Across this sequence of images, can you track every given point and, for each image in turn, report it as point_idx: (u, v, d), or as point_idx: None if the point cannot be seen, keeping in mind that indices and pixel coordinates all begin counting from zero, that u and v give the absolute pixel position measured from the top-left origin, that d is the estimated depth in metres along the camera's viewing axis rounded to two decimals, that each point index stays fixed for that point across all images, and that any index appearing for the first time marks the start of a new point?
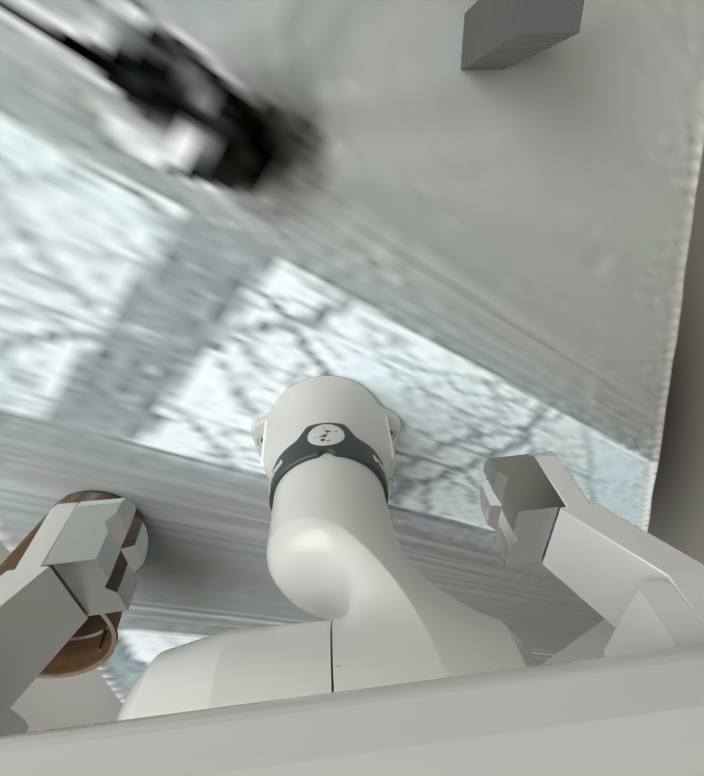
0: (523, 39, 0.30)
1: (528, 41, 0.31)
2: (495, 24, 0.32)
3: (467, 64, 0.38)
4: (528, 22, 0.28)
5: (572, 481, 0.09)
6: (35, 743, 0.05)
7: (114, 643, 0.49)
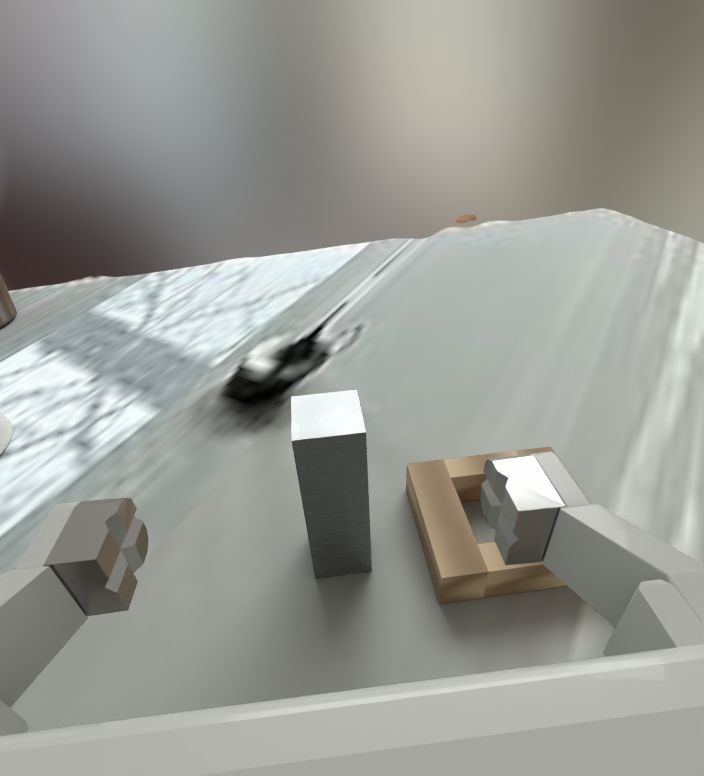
0: None
1: None
2: None
3: None
4: (301, 401, 0.26)
5: (572, 481, 0.09)
6: (35, 743, 0.05)
7: None
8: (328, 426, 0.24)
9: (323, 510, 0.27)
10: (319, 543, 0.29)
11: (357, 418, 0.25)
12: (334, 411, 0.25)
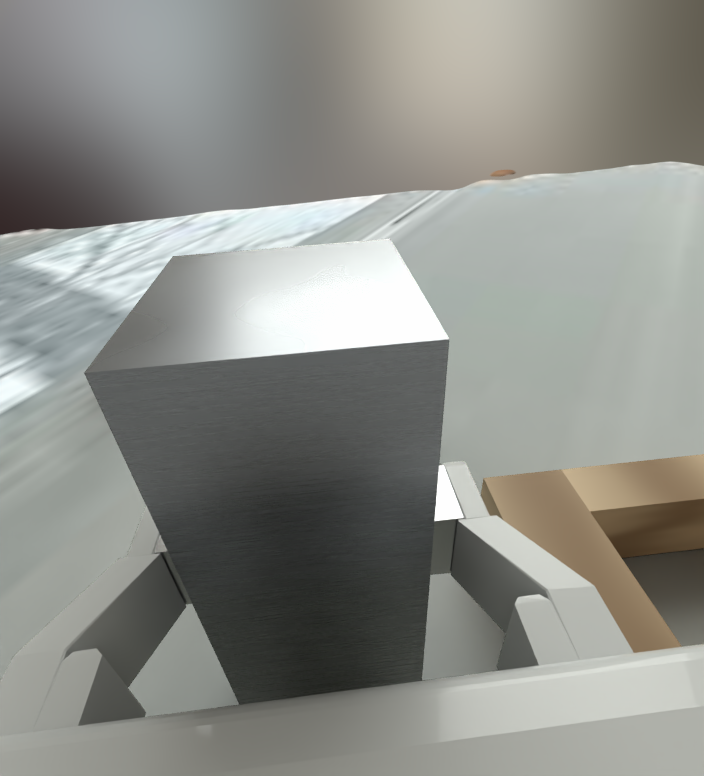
0: None
1: None
2: None
3: None
4: (199, 263, 0.08)
5: (477, 491, 0.09)
6: (35, 743, 0.05)
7: None
8: (274, 321, 0.06)
9: (277, 636, 0.08)
10: None
11: (402, 297, 0.06)
12: (309, 283, 0.07)
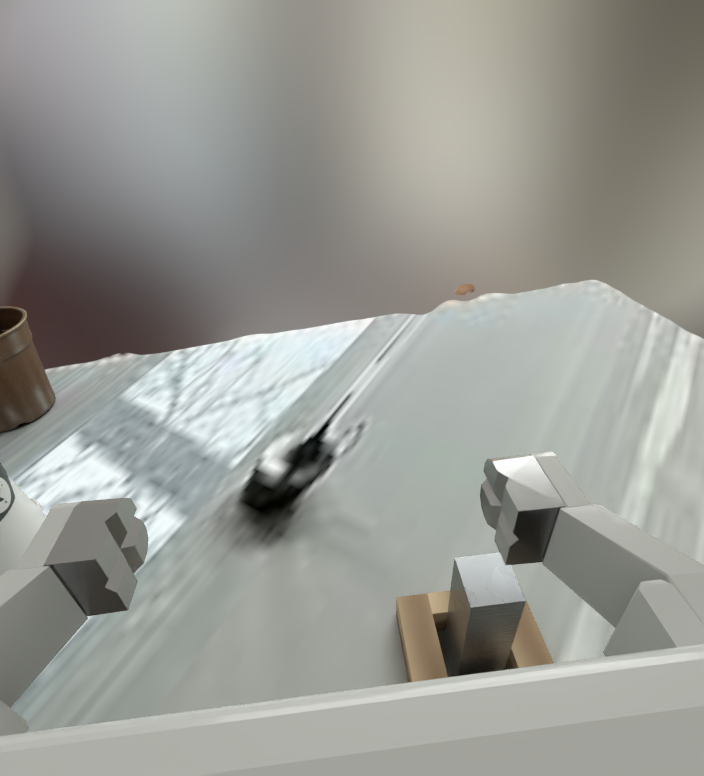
0: (456, 581, 0.35)
1: (458, 593, 0.34)
2: None
3: (446, 630, 0.41)
4: (464, 563, 0.34)
5: (572, 481, 0.09)
6: (35, 743, 0.05)
7: None
8: (494, 593, 0.32)
9: (478, 646, 0.35)
10: (467, 666, 0.36)
11: (515, 584, 0.32)
12: (494, 576, 0.33)
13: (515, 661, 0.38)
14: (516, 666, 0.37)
